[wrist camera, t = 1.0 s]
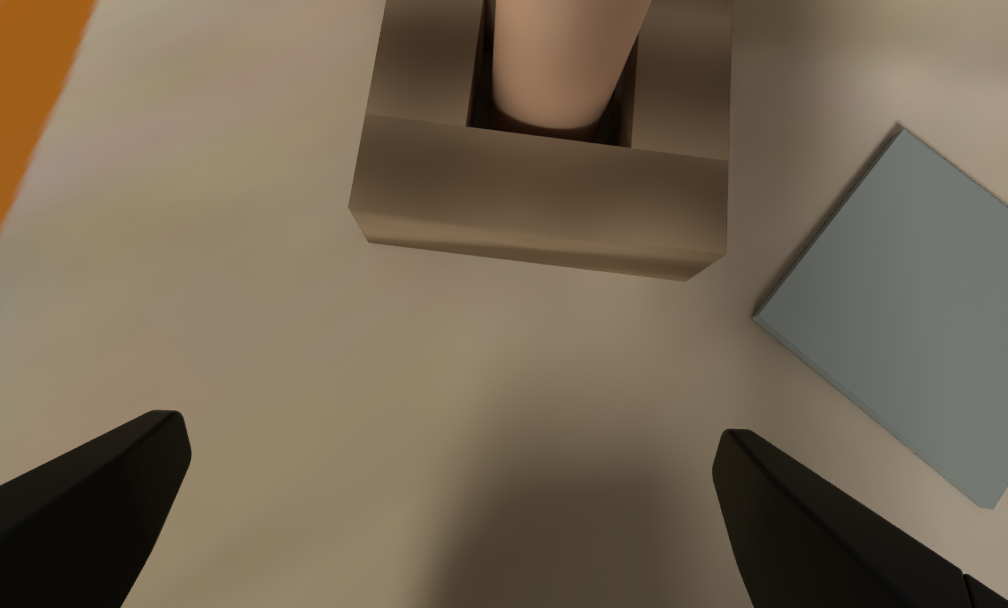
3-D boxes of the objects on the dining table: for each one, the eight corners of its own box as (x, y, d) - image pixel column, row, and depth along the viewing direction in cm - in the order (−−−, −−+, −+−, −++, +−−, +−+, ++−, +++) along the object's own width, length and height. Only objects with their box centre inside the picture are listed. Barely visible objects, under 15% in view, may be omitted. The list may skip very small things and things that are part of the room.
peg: (616, 140, 26) (703, -33, 16) (522, 186, 25) (554, 34, 15) (563, 55, 27) (615, -160, 17) (470, 97, 26) (469, -102, 16)
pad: (980, 507, 23) (993, 509, 22) (751, 318, 24) (758, 315, 24) (1108, 298, 25) (1124, 295, 25) (894, 135, 27) (903, 128, 26)
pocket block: (685, 281, 24) (726, 254, 20) (368, 242, 24) (348, 207, 20) (696, 10, 27) (733, -59, 24) (415, -29, 27) (405, -105, 23)
